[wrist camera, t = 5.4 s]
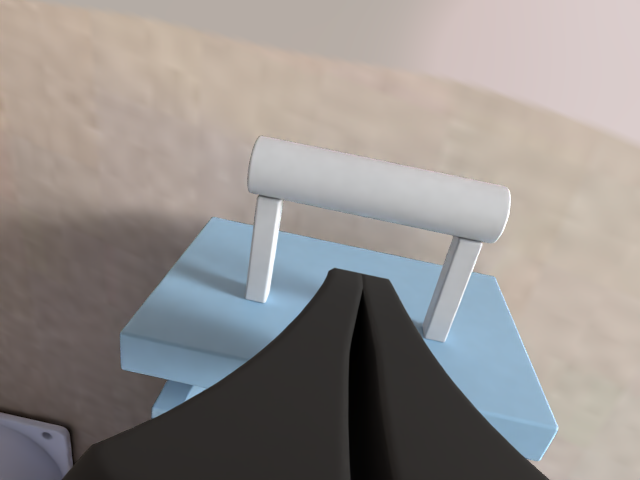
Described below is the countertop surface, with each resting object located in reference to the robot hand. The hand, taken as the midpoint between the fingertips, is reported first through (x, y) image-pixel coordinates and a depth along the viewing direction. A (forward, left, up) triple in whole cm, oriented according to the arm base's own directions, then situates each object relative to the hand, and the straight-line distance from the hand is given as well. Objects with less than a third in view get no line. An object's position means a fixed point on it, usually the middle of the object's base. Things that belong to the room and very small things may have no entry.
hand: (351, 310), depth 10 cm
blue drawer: (0, -6, -6) cm, 8 cm away
